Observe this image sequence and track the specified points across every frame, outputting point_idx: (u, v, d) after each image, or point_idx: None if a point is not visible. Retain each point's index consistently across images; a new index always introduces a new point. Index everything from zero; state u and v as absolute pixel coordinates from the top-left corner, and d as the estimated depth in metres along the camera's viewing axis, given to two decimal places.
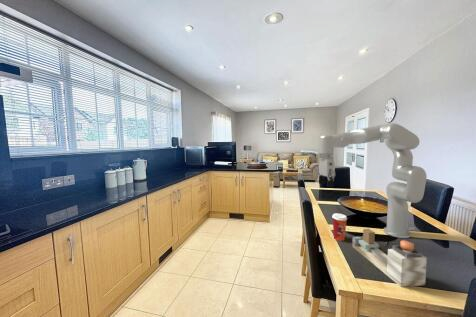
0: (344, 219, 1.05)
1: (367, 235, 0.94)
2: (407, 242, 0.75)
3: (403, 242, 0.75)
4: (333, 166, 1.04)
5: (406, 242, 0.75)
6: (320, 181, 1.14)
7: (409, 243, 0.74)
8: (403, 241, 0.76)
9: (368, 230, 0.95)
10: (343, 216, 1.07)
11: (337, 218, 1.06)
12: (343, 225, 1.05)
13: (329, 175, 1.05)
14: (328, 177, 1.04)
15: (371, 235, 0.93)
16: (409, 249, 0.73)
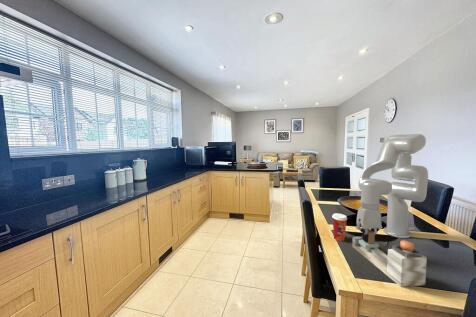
0: (344, 219, 1.05)
1: None
2: (407, 242, 0.75)
3: (403, 242, 0.75)
4: None
5: (406, 242, 0.75)
6: None
7: (409, 243, 0.74)
8: (403, 241, 0.76)
9: (368, 230, 0.95)
10: (343, 216, 1.07)
11: (337, 218, 1.06)
12: (343, 225, 1.05)
13: None
14: (376, 231, 0.94)
15: (371, 235, 0.93)
16: (409, 249, 0.73)
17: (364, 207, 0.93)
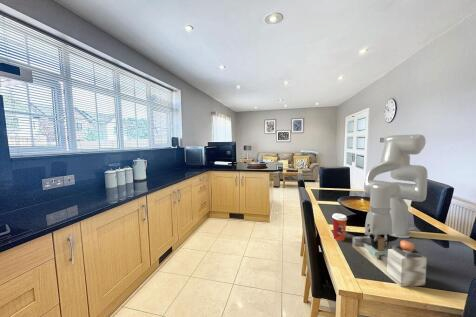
0: (344, 219, 1.05)
1: None
2: (407, 242, 0.75)
3: (403, 242, 0.75)
4: None
5: (406, 242, 0.75)
6: None
7: (409, 243, 0.74)
8: (403, 241, 0.76)
9: (377, 236, 0.89)
10: (343, 216, 1.07)
11: (337, 218, 1.06)
12: (343, 225, 1.05)
13: None
14: (386, 237, 0.88)
15: (380, 242, 0.87)
16: (409, 249, 0.73)
17: (373, 211, 0.87)
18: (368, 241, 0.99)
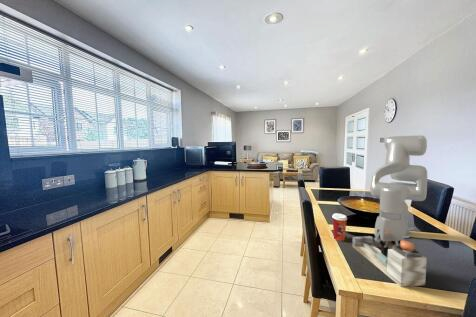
0: (344, 219, 1.05)
1: None
2: (407, 242, 0.75)
3: (403, 242, 0.75)
4: None
5: (406, 242, 0.75)
6: None
7: (409, 243, 0.74)
8: (403, 241, 0.76)
9: (388, 243, 0.83)
10: (343, 216, 1.07)
11: (337, 218, 1.06)
12: (343, 225, 1.05)
13: None
14: (398, 243, 0.82)
15: None
16: (409, 249, 0.73)
17: (384, 216, 0.81)
18: (368, 241, 0.99)
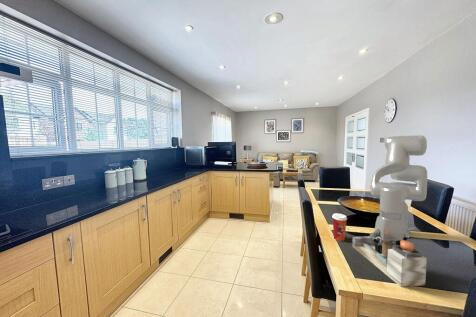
0: (344, 219, 1.05)
1: (387, 248, 0.82)
2: (407, 242, 0.75)
3: (403, 242, 0.75)
4: None
5: (406, 242, 0.75)
6: None
7: (409, 243, 0.74)
8: (403, 241, 0.76)
9: (388, 243, 0.83)
10: (343, 216, 1.07)
11: (337, 218, 1.06)
12: (343, 225, 1.05)
13: None
14: None
15: None
16: (409, 249, 0.73)
17: (384, 216, 0.81)
18: (368, 241, 0.99)
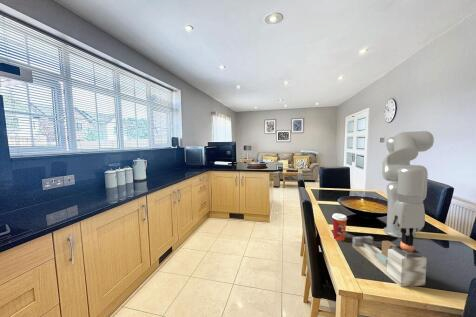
0: (344, 219, 1.05)
1: (387, 248, 0.82)
2: None
3: (403, 243, 0.75)
4: None
5: None
6: None
7: None
8: None
9: (388, 243, 0.83)
10: (343, 216, 1.07)
11: (337, 218, 1.06)
12: (343, 225, 1.05)
13: None
14: (415, 231, 0.73)
15: None
16: (409, 250, 0.73)
17: (403, 200, 0.72)
18: (368, 241, 0.99)
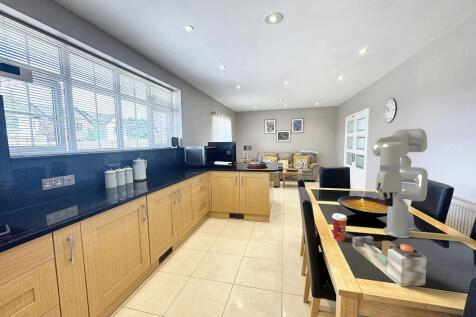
0: (344, 219, 1.05)
1: (387, 248, 0.82)
2: (407, 246, 0.75)
3: (403, 246, 0.75)
4: None
5: (406, 246, 0.75)
6: None
7: (409, 247, 0.74)
8: (403, 245, 0.76)
9: (388, 243, 0.83)
10: (343, 216, 1.07)
11: (337, 218, 1.06)
12: (343, 225, 1.05)
13: None
14: (394, 195, 0.90)
15: None
16: None
17: (384, 170, 0.89)
18: (368, 241, 0.99)
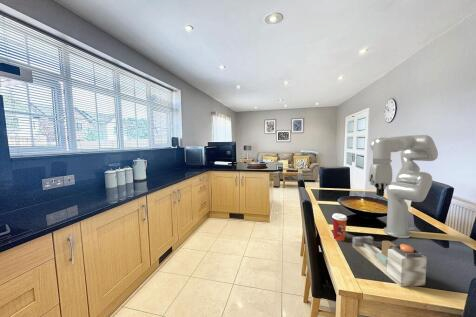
0: (344, 219, 1.05)
1: (387, 248, 0.82)
2: (407, 246, 0.75)
3: (403, 246, 0.75)
4: None
5: (406, 246, 0.75)
6: None
7: (409, 247, 0.74)
8: (403, 245, 0.76)
9: (388, 243, 0.83)
10: (343, 216, 1.07)
11: (337, 218, 1.06)
12: (343, 225, 1.05)
13: None
14: (385, 185, 1.00)
15: None
16: None
17: (376, 163, 0.99)
18: (368, 241, 0.99)
